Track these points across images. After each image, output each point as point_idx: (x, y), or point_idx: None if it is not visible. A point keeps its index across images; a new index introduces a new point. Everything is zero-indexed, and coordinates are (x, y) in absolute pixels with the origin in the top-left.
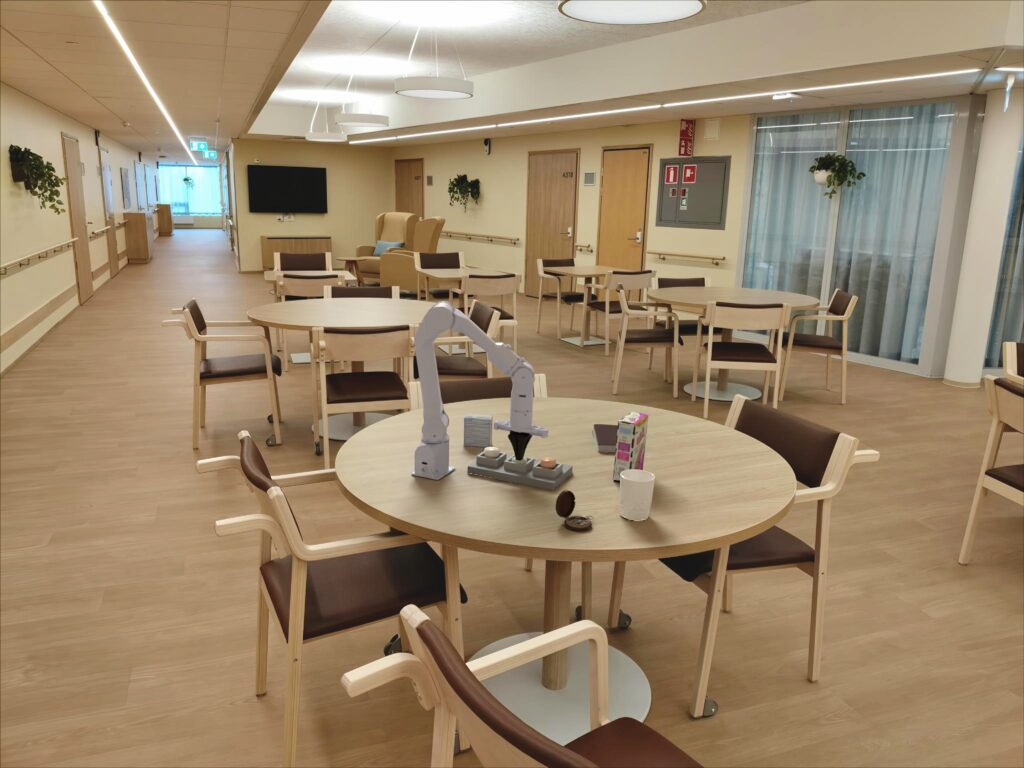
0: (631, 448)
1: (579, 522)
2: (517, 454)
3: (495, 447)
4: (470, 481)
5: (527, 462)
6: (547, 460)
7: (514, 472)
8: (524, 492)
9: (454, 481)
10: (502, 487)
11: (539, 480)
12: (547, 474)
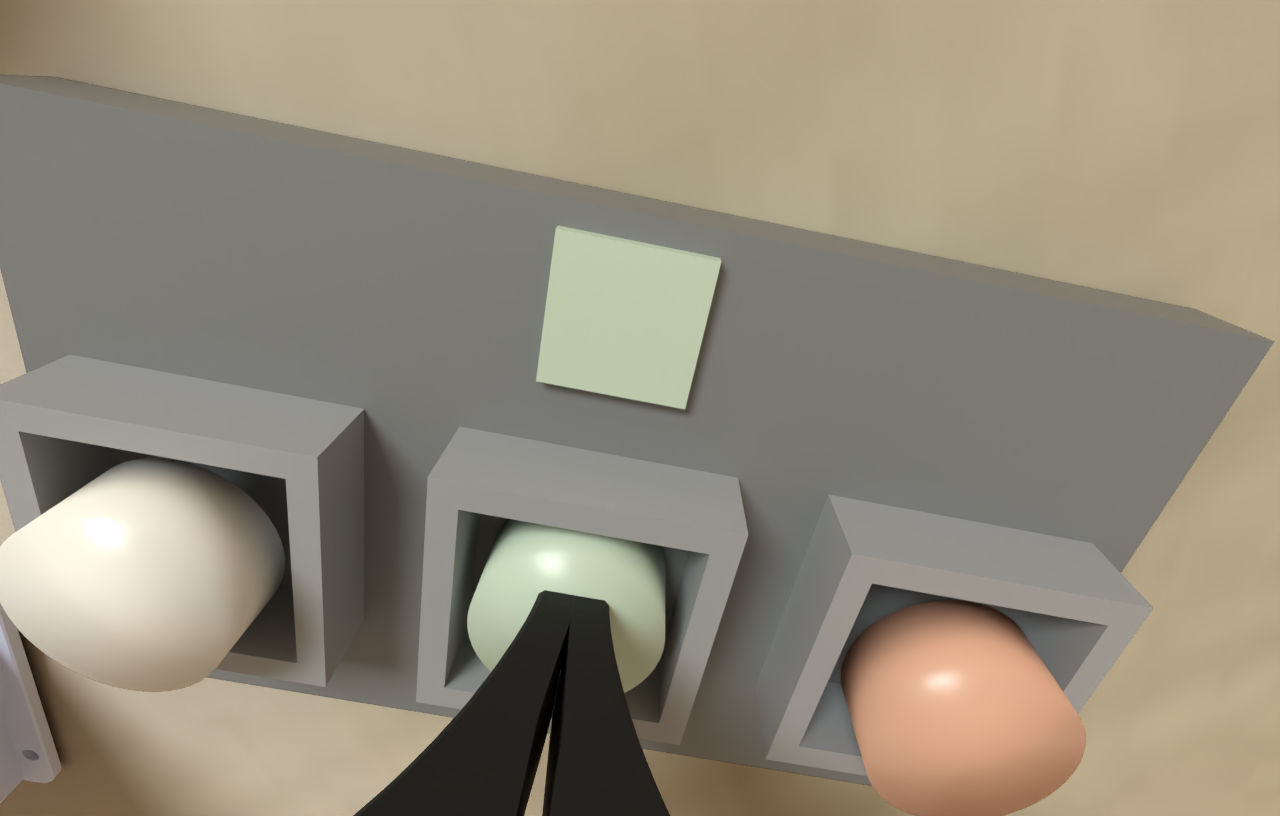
0: None
1: None
2: (541, 751)
3: (105, 531)
4: (276, 728)
5: (684, 669)
6: (962, 776)
7: None
8: (722, 798)
9: (174, 751)
10: (543, 764)
11: (838, 778)
12: None
